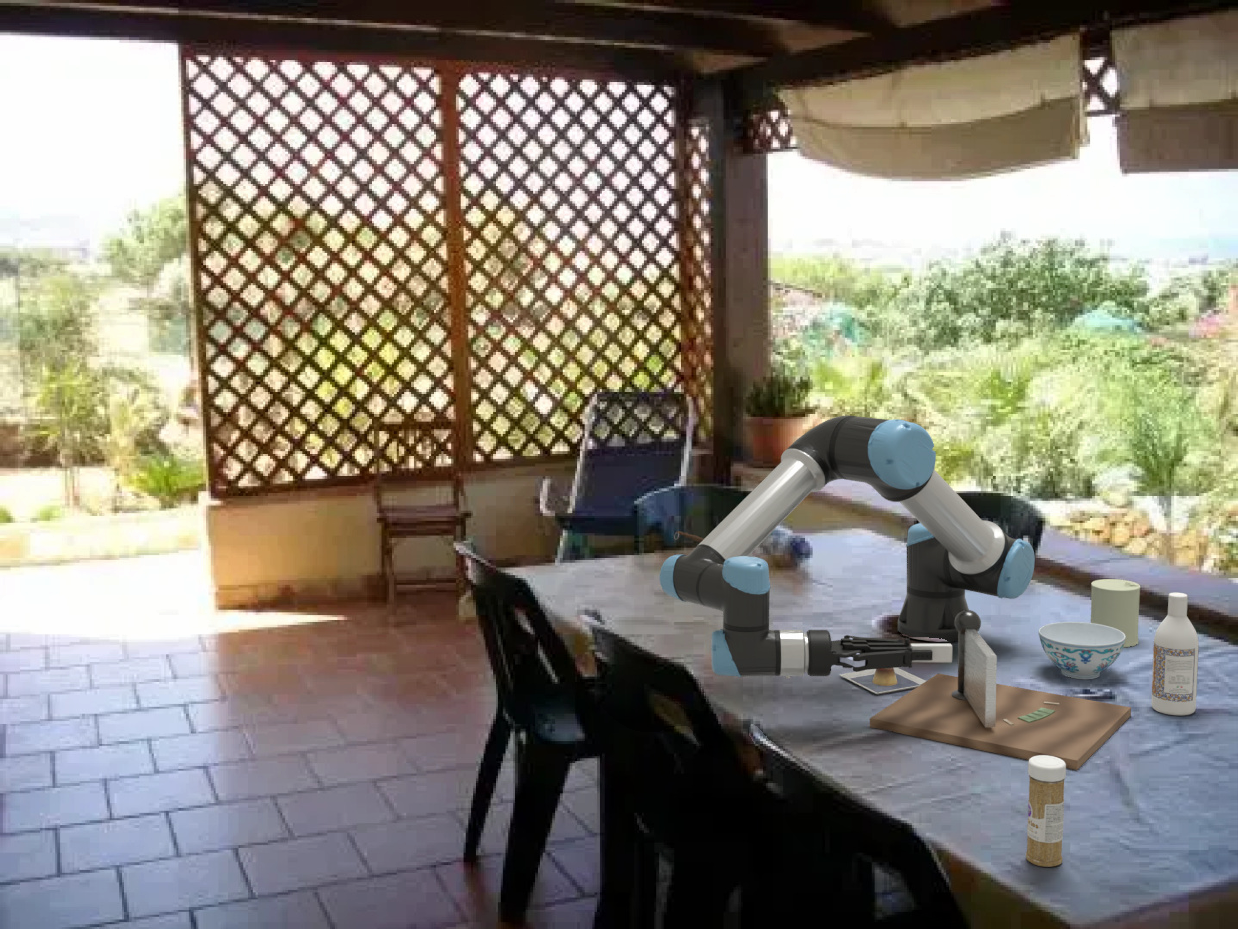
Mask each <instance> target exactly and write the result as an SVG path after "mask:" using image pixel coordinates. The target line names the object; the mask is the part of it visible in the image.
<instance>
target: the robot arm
mask: <svg viewBox="0 0 1238 929" xmlns="http://www.w3.org/2000/svg"><path fill="white" fill-rule="evenodd" d="M934 447H935V443H934V441H933V438H932V436H931V435H930V433H929V432H928V431H927V430H926V429H925V428H924V427H922V426H921V425H919V424H917V423H916V422H911V421H907V420H904V419H900V418H899V419H895V418H894V419H883V418H876V417H875V418H873V417H868V416H867V417H865V416H856V415H850V414H849V415H840V416H835V417H833V418H830V419H826V420H825V421H823V422H821V423H819V424H817V425H816V426H813V427H812V428H811V429H809V430H807V431H806V432H805V433H804V434H802V435H800V436H799V437H798V438H797V439H795V441H794V442H793V443H792V444H791V445H790V446H788V448H786V449H785V450H784V451H783V452H782V454H781V456H780V463H779V464H778V465H776V467H775V468H774V469H773V470H772V471H771V472H770V473H769V474H768V475H767V476H766V477H765V478H764V479H763V480H762V481H761V482H760V483H759V484H758V485H757V486H756V487H755V488H754V489H753V490H752V491H750V493H749V494H748V495H747V496H746V497H745V498H744V499H742V501H741V502H740V503H739V504H737V505H736V507H735V508H734V509H733V510H731V512H730V513H729V514H727V516H726V517H725V518H723V520H722V521H721V522H720V523H718V525H717V526H715V528H713V530H712V531H711V532H710V533H709V534H708V535H706V537H705V538H703V539H704V540H703V541H702V542H699V544H697V546H696V547H695V548H694V549H692V550H691V551H690V553H689V554H688V555H687V554H682V553H681V554H673V555H671V556H669V557H668V558H667V559H665V560H664V562H663V564H662V565H661V568H660V570H659V571H660V572H659V584H660V587H661V589H662V590H663V592H664V593H665V594H666V595H667V596H669V597H672V598H674V599H677V600H679V601H681V602H685V603H686V602H687V603H691V604H695V605H699V606H703V607H707V608H711V609H713V610H717V611H720V612H722V628H720V629H715V630H713V631H712V632H711V641H710V642H711V648H710V650H711V670H712V672H713V673H714V674H716V676H717V675H718V676H729V677H730V676H731V677H738V678H742V677H785V679H787V680H790V679H791V678H792V677H803V676H804V675H805V673H807V676H809V677H829V676H830V675H831V673H832V667H833V666H839V667H842V668H845V669H852V671H853V672H859V671H863V670H870V669H883V668H896V667H897V668H908V669H911V668H912V667H913V663H952V662H953V645H952V644H951V643H953V642H954V641H955V642H958V634H959V632H958V631H957V629H956V628H955V623H954V622H955V618H956V616H957V614H958V613H960V612H961V611H964V610H970V608H969V606H968V602H967V599H966V591H969V592H973V593H974V592H975V593H979V594H982V595H983V594H984V595H988V596H992V597H993V596H994V597H997V598H999V599H1009V600H1013V599H1014V600H1015V599H1017V598H1019V597H1020V596H1022V595H1023V593H1025V591H1026V590H1027V589H1028V587H1029V585H1030V583H1031V581H1032V578H1033V575H1034V571H1035V562H1036V559H1035V558H1036V557H1035V552H1034V549H1033V546H1032V545H1031V543H1029V542H1028V541H1027V540H1023V539H1022V538H1017V539H1016V538H1012V537H1010V536H1008V534H1006V532H1005V531H1004V530H1003V529H1002V528H1001V527H1000V526H999V525H998V524H996V523H995V522H992V521H989V520H983V519H982V518H980V517H979V515H978V514H976V512H975V511H974V510H973V509H972V507H970V506H969V505H968V503H966V501H965V500H964V499H962V497H961V496H960V495H959V493H957V492H956V491H955V490H954V488H952V487H951V485H950V484H949V483H947V481H946V480H945V479H944V478H943V477H942V476H941V475H940V474H939V473H938V472H937V471H936V470H935V469H936V468H935V467H936V461H937V460H936V458H937V452H936V451H935V450H933V449H934ZM837 480H847V481H853V482H859V483H865V484H868V485H869V486H871V487H872V489H874V491H876V492H877V493H878V494H879V495H880V496H881V497H882V498H883V499H884V500H886V501H889V502H892V503H900V505H902V506H903V507H904V509H906V510H907V511H908V512H909V513H910V514H911V515H912V516H913V518H915V519H916V520H917V521H918V523H915V524H913V525H911V526H910V527H909V528H908V530H907V537H906V538H907V541H906V544H905V547H906V595H905V599H904V601H903V604H902V607H901V610H900V613H899V616H898V619H897V632H898V631H899V632H901V633H903V634H905V635H908V636H912V637H929V638H939V639H941V638H942V639H945V640H947V641H950V642H949V643H910V638H907V637H905V638H904V639H900V638H899V639H896V638H895V639H894V638H883V637H881V638H880V637H879V638H877V637H863V636H855V635H854V636H853V635H849V634H847V635H844V636H843V637H842V638H840V640H839V639H837V640H832V637H831V633H830V631H829V630H827V629H808V630H807V631H806V633H805V632H804V630H802V629H774V630H773V629H770V597H771V596H770V591H771V581H770V572H769V571H770V570H769V565H768V562H767V561H766V560H765V559H763V558H761V557H756V556H754V557H748V556H749V555H750V554H751V553H752V554H753V552H754V551H755V550H756V549H757V548H758V547H759V546H760V545H761V543H762V542H764V541H765V540H766V538H768V537H769V535H770V534H772V532H774V531H775V529H776V528H777V527H778V526H779V525H780V524H781V523H782V522H783V521H784V520H785V519H786V518H787V517H788V516H789V515H790V514H791V513H792V512H793V511H794V510H795V508H797V507H798V506H799V505H800V504H801V503H802V502H803V501H804V500H805V499H806V497H808V496H809V494H811V493H815V492H816V493H817V492H819V491H821V490H822V489H824V487H825V486H826V485H827V484H829V483H831V482H833V481H837ZM951 641H953V642H951Z"/></svg>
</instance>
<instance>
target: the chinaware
mask: <svg viewBox="0 0 1238 929" xmlns="http://www.w3.org/2000/svg"><path fill="white" fill-rule="evenodd" d="M1038 636H1039V641H1040V644H1041V646H1042V647H1041V648H1042V649H1043V651H1044V653H1045V655H1046V656H1047V658H1048V659H1049V660H1050V661H1051V662H1052V664H1054V665H1055V666H1057V667H1058V669H1060V672H1061V674H1062V675H1063V676H1065V675H1066V676H1065V677H1067V676H1068V677H1067V678H1070V677H1071V679H1076V680H1077V679H1078V680H1092V679H1093V680H1094V679H1097V678H1099V677H1100V676H1101V672H1102V671H1105V670H1107V669H1108V668H1109V667H1110V666H1112V665H1113V664H1114V663H1116V662H1115V661H1117V659H1118V658H1119V656H1120V655H1121V653H1122V651H1123V648H1124V647H1123V646H1124V642H1125V638H1126V637H1125V634H1124V633H1123V632H1121V631H1120V630H1118V629H1115V628H1112V627H1109V626H1105V625H1100V624H1094V623H1091V622H1082V621H1059V622H1053V623H1047V624H1045V625H1043V626H1041V627H1040V628H1039V629H1038Z"/></svg>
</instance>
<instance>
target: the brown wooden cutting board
mask: <svg viewBox="0 0 1238 929" xmlns="http://www.w3.org/2000/svg"><path fill="white" fill-rule="evenodd" d="M925 681H926V682H924V683H923V684H921V685H920V684H919V685H920V686H918V687H917V688H913V689H912V690H910V691H909V692H908V693H906V694H904V695H902V696H901V697H899V698H898V699H897V700H895V701H894V702H892V703H891V704H889V705H888V706H886V707H885V708H883V709H882V710H880V711H879V712H877V713H875V714H873V715H872V716H871V717H870V718H869V728H872V729H877V730H883V731H887V730H889V731H888V732H892V731H893V733H897V734H902V735H906V736H912V737H916V738H921V739H925V740H926V739H927V740H931V741H935V742H941V743H945V744H950V745H955V746H961V747H965V748H969V749H974V750H979V751H984V752H988V753H994V754H998V755H1003V756H1007V757H1012V758H1016V759H1017V758H1018V759H1021V760H1027V761H1029V759H1030V758H1032V757H1034V756H1039V755H1048V756H1054V757H1057V758H1060V759H1062V760H1063V761H1064V762H1065V764H1066V769H1068V770H1069V769H1070V770H1074V771H1075V770H1076V771H1078V770H1079V768H1081V767H1082V766H1083V765H1084V764H1085V763H1086V761H1088V760H1089V759H1090V757H1092V756H1093V755H1094V754H1095V753H1096V752H1097V751H1098V750H1099V749H1100V748H1101V747H1102V745H1104V743H1106V742H1107V741H1108V739H1110V738H1111V736H1113V735H1114V734H1115V733H1116V731H1118V730H1119V729H1120V728H1121V727H1122V725H1124V724H1125V723H1126V722H1127V720H1129V719H1130V718H1131V716H1132V707H1131V706H1125V705H1118V704H1114V703H1108V702H1101V701H1097V700H1091V699H1085V698H1078V697H1073V696H1068V695H1063V694H1057V693H1051V692H1045V691H1041V690H1035V689H1028V688H1024V687H1017V686H1011V685H1006V684H1000V683H996V719H995V727H985V726H984V725H983V723H982V722H981V720H980V719H979V717H978V715H977V714H976V712H975V711H974V709H973V708H972V706H971V705H970V703H969V702H968V700H967V699H966V697H965V696H964V694H962V693H959V692H958V676H955V675H950V674H943V673H936V674H935V675H933V676H932V677H930V678H929V679H928V680H925Z"/></svg>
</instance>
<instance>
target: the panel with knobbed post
mask: <svg viewBox="0 0 1238 929" xmlns="http://www.w3.org/2000/svg"><path fill="white" fill-rule="evenodd" d="M954 623H955V628H956V629H957V631H958V632H959V634H958V641H957V642H958V644H957V647H958V648H957V649H958V651H957V652H958V653H957V677H958V692H959V693H962V694H964V696H965V697H966V699H967V700H968V702H969V703H970V705H971V706H972V708H973V709H974V711H975V712H976V714H977V715H978V717H979V719H980V720H981V722H982V723H983V725H984V726H985V727H995V719H996V684H997V670H998V669H997V667H998V665H997V662H998V659H997V658H998V656H997V655H996V653H995V652H994V650H993V649H992V648H991V647H990V646H989V645H988V643H987V642H986V641H985V640H984V638H983V637H982V636H981V634H980V633H979V631H980V629H981V627H982V621H981V617H980V615H979V614H978V613H977V612H975V611H973V610H971V609H969V610H964V611H961V612H960V613H958V614H957V616H956V618H955V622H954Z"/></svg>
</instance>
